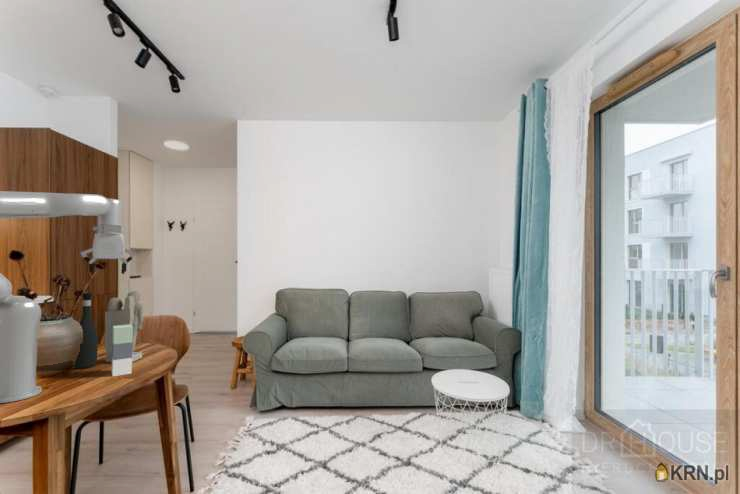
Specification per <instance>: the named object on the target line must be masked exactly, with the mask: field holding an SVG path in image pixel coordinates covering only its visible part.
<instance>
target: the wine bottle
mask: <svg viewBox="0 0 740 494" xmlns="http://www.w3.org/2000/svg"><path fill="white" fill-rule="evenodd" d="M92 294H93V293H92V292H83V293H82V313H81V314H82V315H81V318H80V322H79V323H78V325H79V324H80V325H81V326H82V329H83V344H82V343H81V344H80V352H79V354H78V356H77V359H76V361H75V363H74V365H73V366H72V368H73V369H76V370H79V369H88V368H93V367H95V366H96V365H97V364H98V341H99V339H98V331H97V328H96V326H95V323H94V321H93V319H92V316H91V313H92V311H91V310H92V309H91V308H92V306H91V305H92Z"/></svg>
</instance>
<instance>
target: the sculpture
mask: <svg viewBox="0 0 740 494" xmlns="http://www.w3.org/2000/svg"><path fill="white" fill-rule="evenodd" d="M140 301H141V294H140V292H138V291H137V290H136V291H135V290H133V291H130V292H128V294H127V296H126V297H125V299H124V303H123V301H122V298H120V297H112V298H110V299H109V300H108V304H107V311H105V312H104V349H105V350H104V351H105V362H106V363H112V335H113V326H118V325H130V324H131V325H132V326H133V341H132V363H133V362H135V361H137V360H139V359H142V358H143V352H142V351H135V349H136V343H137V336H138V333H139V331H141V330H142V329H143V321H144V304H143V303H140ZM123 304H124V305H123Z"/></svg>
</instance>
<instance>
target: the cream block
mask: <svg viewBox="0 0 740 494" xmlns="http://www.w3.org/2000/svg"><path fill="white" fill-rule="evenodd" d="M132 365H133V362H132V358H127V359H119V360H113V358H112V362H111V375H112V377H117V376H124V375H129V374H132V373H133V371H132V369H133V366H132Z"/></svg>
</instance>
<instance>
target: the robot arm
mask: <svg viewBox="0 0 740 494" xmlns="http://www.w3.org/2000/svg"><path fill="white" fill-rule="evenodd" d="M122 205H123V203H122V201H121V200H119V199H116V198H107V197H105V196H104V195H101V194H97V193H96V194H94V193H93V194H91V193H61V192H60V193H59V192H58V193H57V192H42V191H41V192H40V191H38V192H37V191H34V192H33V191H10V190H9V191H7V190H6V191H5V190H0V219H26V218H27V219H28V218H29V219H30V218H31V219H33V218H34V219H35V218H40V219H42V218H57V217H58V218H59V217H65V216H66V217H67V216H85V217H88V216H89V217H90V216H91V217H92V216H94V217H95V216H97V226H92V230H93V231H95V232H97V233H94V237H93V243H92V247H91V248H89V249H86V250H83V251H81V252H80V255H81V256H82V258H83V259H84V260H85V261H86V262H87V263H88V264H89V273H91V275H95V263H94V262H96V261H97V260H120V261H121V262H122V264H121V274H122V275H124V274H125V273H126V272H127V266H128V265H127V264H128V263H130V261H132V260H133V258H134V256H135V255H136V253H135V252H133V251H131V250H129V249H127V248H125V247H126V245H125V236H124V235H125V234H123V233H122V218H123V217H122V211H123V210H122V209H123V208H122ZM90 253H92V258H91V259H90V258H89V257H88V255H87V254H90ZM125 254H128V255H129V256H128V258H126V259H125ZM12 292H13V285H12V283H11V282H10V280H9V279H8V278H7V277H6V276H5V275H3V274H2V273H1V272H0V404H5V403H13V402H17V401H23V400H26V399H29V398H33V397H35V396H37V395H39V394H41V392H43V391H42V389H43V387H42V386H39V385H36V384H37V361H38V360H37V359H38V336H39V335H38V334H39V327H40V323H41V318H42V308H41V306H40V304H39V303H38V302H37V301H35V300H33V299H31V298H29V297H20V296H15V295H14V294H12Z"/></svg>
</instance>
